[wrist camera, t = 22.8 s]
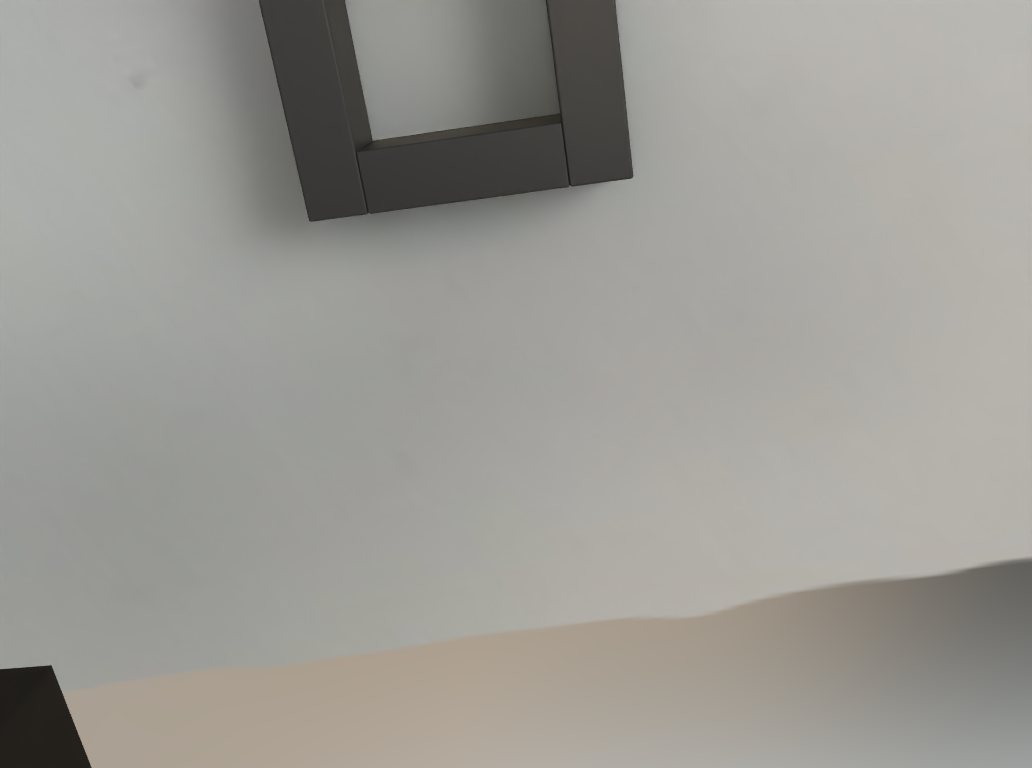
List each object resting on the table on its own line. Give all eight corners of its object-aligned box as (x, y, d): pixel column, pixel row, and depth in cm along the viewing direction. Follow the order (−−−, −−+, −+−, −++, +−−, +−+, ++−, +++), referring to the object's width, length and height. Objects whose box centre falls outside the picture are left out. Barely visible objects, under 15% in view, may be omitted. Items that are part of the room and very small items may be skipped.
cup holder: (329, 206, 37) (308, 222, 34) (255, -129, 33) (225, -140, 30) (631, 165, 36) (633, 178, 33) (593, -192, 31) (593, -209, 29)
